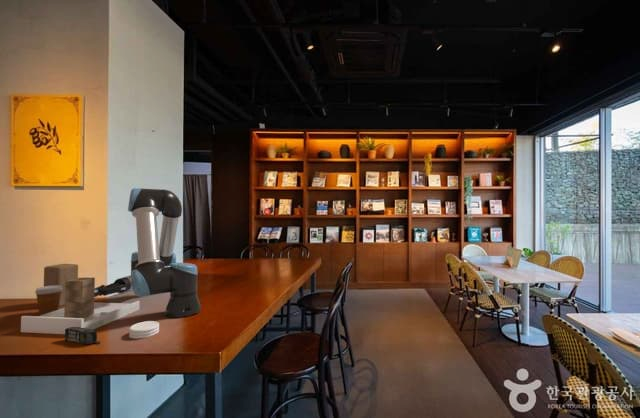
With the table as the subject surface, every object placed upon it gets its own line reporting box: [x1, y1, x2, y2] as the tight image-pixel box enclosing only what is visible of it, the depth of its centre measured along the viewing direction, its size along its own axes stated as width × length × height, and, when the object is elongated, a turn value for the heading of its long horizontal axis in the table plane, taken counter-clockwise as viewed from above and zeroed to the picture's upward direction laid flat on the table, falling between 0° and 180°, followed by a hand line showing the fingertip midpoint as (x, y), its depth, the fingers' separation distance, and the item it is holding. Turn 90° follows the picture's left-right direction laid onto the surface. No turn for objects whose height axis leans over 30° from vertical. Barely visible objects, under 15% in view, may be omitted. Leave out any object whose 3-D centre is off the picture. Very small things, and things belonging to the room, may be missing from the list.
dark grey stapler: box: [64, 327, 102, 345], centre depth 105 cm, size 5×3×15 cm
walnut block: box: [63, 277, 96, 319], centre depth 124 cm, size 7×7×16 cm
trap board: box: [20, 300, 141, 335], centre depth 128 cm, size 31×26×6 cm
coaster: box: [128, 320, 160, 340], centre depth 113 cm, size 10×10×4 cm
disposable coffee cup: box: [34, 285, 63, 316], centre depth 136 cm, size 10×10×12 cm
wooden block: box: [43, 263, 79, 308], centre depth 150 cm, size 10×10×20 cm
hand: (83, 296), depth 127 cm, fingers closed
